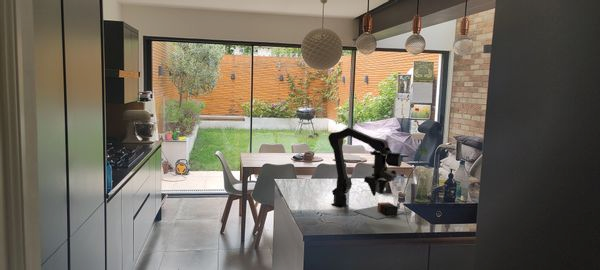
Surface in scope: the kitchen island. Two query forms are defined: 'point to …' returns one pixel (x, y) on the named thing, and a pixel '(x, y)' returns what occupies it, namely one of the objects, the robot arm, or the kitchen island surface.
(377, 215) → the mat
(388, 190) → the brown a-shaped stand
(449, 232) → the kitchen island surface
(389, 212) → the battery
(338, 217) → the kitchen island surface
